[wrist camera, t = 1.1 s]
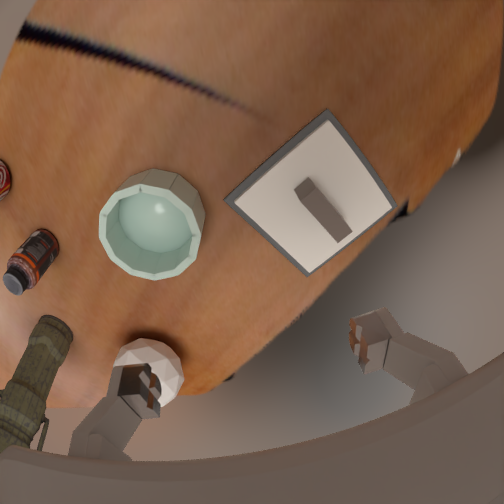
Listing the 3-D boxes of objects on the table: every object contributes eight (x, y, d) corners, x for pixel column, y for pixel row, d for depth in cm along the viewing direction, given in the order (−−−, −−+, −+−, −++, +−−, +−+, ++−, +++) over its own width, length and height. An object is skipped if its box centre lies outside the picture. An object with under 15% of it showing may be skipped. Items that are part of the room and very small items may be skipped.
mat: (327, 108, 33) (328, 108, 33) (396, 204, 40) (397, 205, 40) (223, 199, 39) (223, 200, 39) (306, 275, 46) (307, 277, 46)
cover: (327, 119, 33) (339, 125, 29) (389, 205, 40) (404, 220, 36) (234, 200, 39) (234, 216, 35) (308, 269, 45) (315, 289, 41)
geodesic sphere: (87, 357, 48) (113, 424, 42) (115, 325, 43) (147, 404, 37) (144, 352, 60) (169, 408, 54) (178, 322, 55) (209, 386, 49)
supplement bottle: (32, 223, 38) (-5, 261, 29) (60, 233, 40) (25, 275, 30) (33, 252, 41) (1, 292, 32) (60, 262, 43) (30, 306, 33)
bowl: (151, 150, 35) (137, 162, 30) (223, 213, 40) (222, 235, 35) (99, 217, 39) (82, 237, 34) (165, 269, 44) (158, 294, 39)
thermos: (34, 304, 48) (-34, 449, 18) (81, 329, 51) (29, 486, 22) (33, 328, 51) (-21, 459, 22) (77, 351, 55) (34, 490, 26)
